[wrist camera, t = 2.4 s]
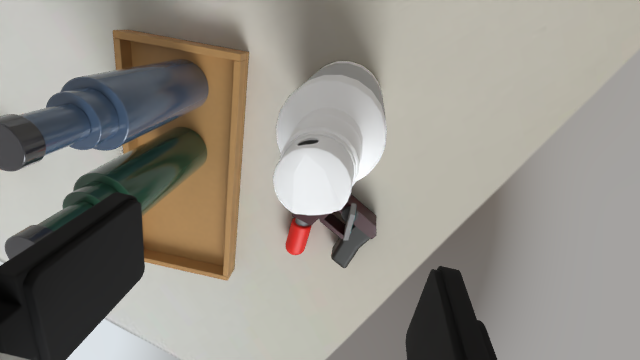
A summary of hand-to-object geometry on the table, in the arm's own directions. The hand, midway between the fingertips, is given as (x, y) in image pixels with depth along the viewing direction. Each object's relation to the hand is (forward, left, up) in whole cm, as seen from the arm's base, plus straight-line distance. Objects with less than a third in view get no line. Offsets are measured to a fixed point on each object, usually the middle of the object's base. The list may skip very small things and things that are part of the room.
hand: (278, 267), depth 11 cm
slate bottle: (0, -14, -22) cm, 26 cm away
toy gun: (+11, -1, -23) cm, 25 cm away
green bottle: (+7, -14, -22) cm, 27 cm away
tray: (+9, -14, -23) cm, 28 cm away
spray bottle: (-1, 0, -23) cm, 23 cm away
